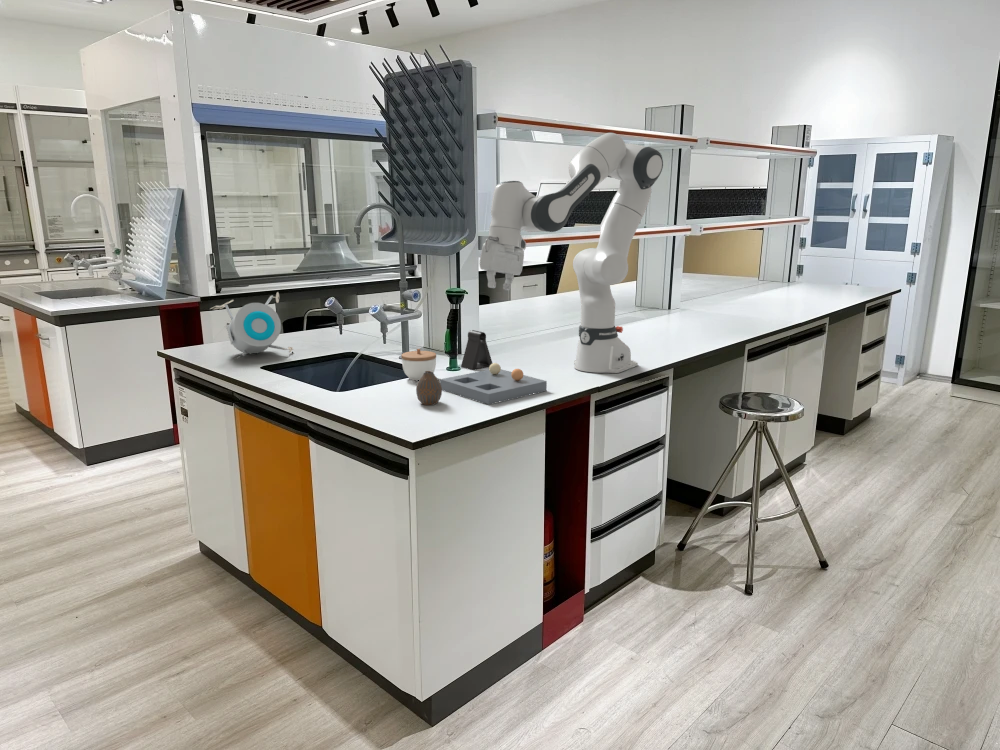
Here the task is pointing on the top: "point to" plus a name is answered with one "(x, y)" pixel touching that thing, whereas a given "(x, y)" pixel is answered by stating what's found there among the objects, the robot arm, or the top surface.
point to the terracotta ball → (517, 374)
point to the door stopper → (476, 351)
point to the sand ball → (494, 368)
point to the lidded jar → (418, 363)
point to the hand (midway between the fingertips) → (499, 288)
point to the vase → (429, 389)
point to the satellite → (254, 327)
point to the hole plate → (492, 386)
